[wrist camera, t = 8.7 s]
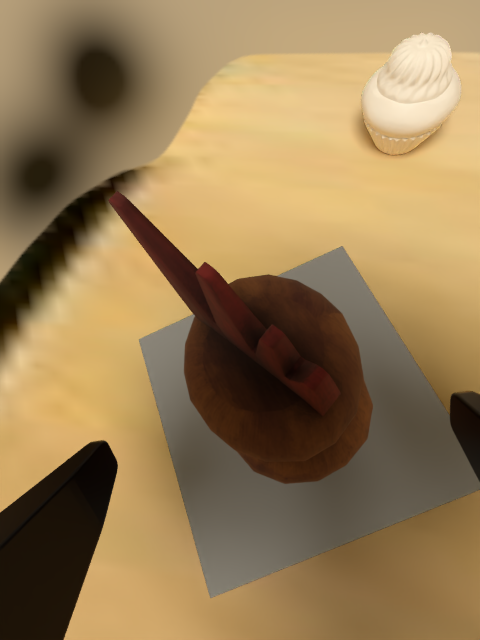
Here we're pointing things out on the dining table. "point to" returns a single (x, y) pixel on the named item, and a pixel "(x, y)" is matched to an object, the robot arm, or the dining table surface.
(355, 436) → the wooden figurine
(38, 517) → the robot arm
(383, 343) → the plinth
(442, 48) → the muffin
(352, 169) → the dining table surface
